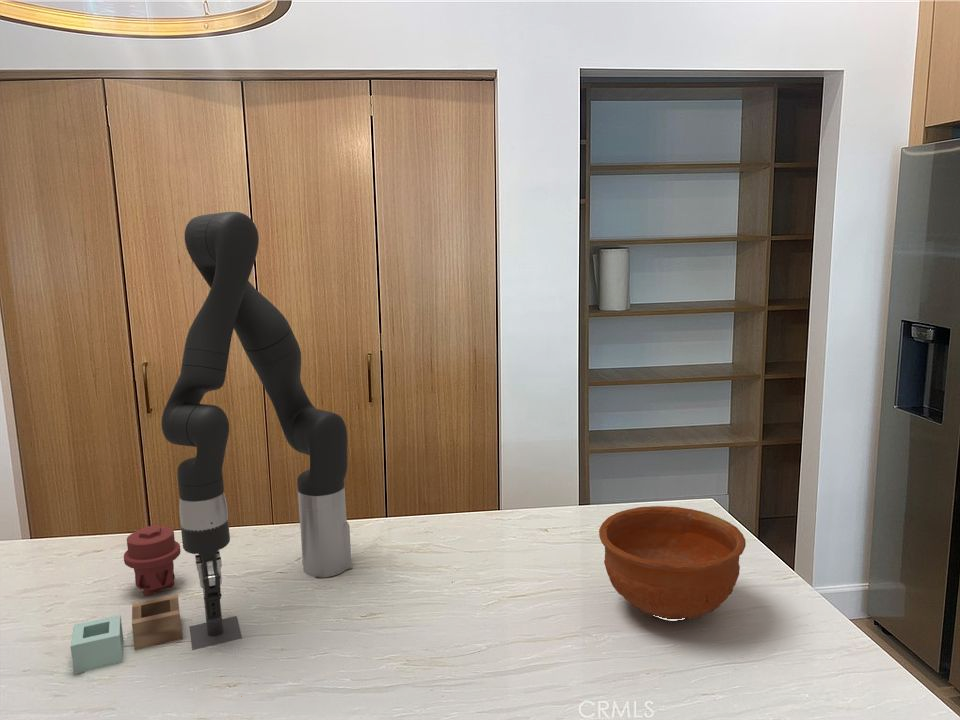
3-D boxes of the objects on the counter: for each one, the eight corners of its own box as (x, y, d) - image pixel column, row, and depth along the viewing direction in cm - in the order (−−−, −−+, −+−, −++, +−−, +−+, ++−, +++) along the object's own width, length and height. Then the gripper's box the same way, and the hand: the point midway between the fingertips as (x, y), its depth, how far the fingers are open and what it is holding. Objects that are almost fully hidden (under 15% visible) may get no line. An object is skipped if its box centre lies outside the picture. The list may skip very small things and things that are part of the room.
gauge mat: (236, 617, 134) (236, 615, 134) (242, 639, 127) (242, 638, 127) (189, 627, 131) (189, 626, 131) (192, 651, 124) (192, 649, 124)
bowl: (772, 620, 130) (777, 540, 127) (667, 666, 117) (670, 578, 114) (668, 565, 150) (671, 495, 148) (570, 599, 138) (571, 523, 135)
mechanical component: (194, 578, 149) (163, 604, 139) (149, 574, 151) (116, 599, 141) (188, 520, 146) (157, 542, 137) (143, 517, 148) (109, 538, 139)
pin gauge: (222, 626, 130) (217, 568, 128) (224, 634, 128) (218, 575, 126) (206, 630, 129) (200, 571, 127) (207, 638, 127) (201, 578, 125)
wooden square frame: (180, 619, 134) (177, 594, 133) (182, 640, 127) (179, 613, 126) (135, 629, 131) (132, 603, 130) (135, 651, 124) (131, 624, 123)
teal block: (123, 641, 127) (120, 614, 126) (122, 663, 121) (119, 635, 120) (77, 651, 124) (73, 624, 123) (74, 674, 118) (70, 646, 117)
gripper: (232, 530, 120) (241, 628, 123) (223, 501, 132) (231, 590, 136) (182, 539, 117) (192, 639, 120) (178, 508, 129) (187, 600, 133)
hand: (213, 613), depth 128 cm, fingers closed on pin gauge, 2 cm apart
